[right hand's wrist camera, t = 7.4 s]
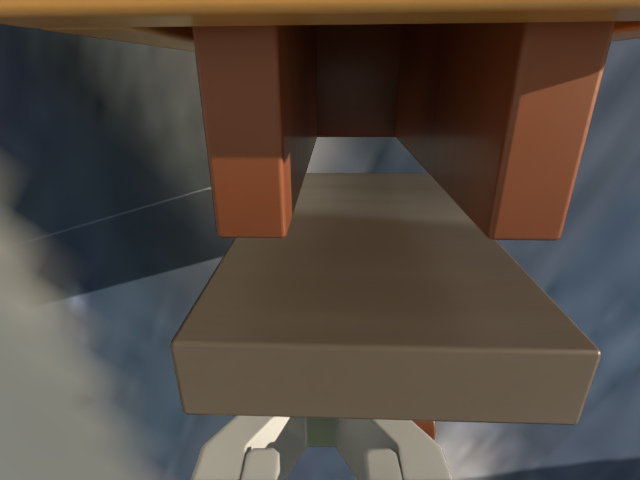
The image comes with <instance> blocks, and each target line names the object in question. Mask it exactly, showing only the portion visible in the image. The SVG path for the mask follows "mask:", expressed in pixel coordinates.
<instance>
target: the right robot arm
mask: <svg viewBox="0 0 640 480" xmlns="http://www.w3.org/2000/svg"><path fill="white" fill-rule="evenodd" d="M305 447H337V450H338V451H339V453H340V454H341V456H342V457H343V459H344V460H345V462H346V463H347V465H348V466H349V468H350V469H351V470H352V472H353V473H354V475H355V476H356V478H357V479H358V480H452V477H451V474H450V471H449V468H448V465H447V462H446V459H445V456H444V454H443V451H442V448H441V446H440V445H439V444H437V443H436V442H435V441H434V440H433V439H432V438H431V437H430V436H428V435H427V434H426V433H425V432H424V431H423V430H422V429H421V428H419V427H418V426H417V425H416V424H415V423H414V422H413V421H412V420H379V419H343V418H306V417H270V416H235V417H234V418H233V419H232V420H231V421H230V422H229V423H227V424H226V425H225V426H224V427H223V428H222V429H221V430H220V431H219V432H217V433H216V434H215V435H214V436H213V437H212V438H211V439H210V440H208V441H207V442H206V443H205V444H204V445H203V446H202V448H201V451H200V454H199V457H198V460H197V463H196V465H195V468H194V471H193V474H192V477H191V480H285V479H286V477H287V476H288V474H289V473H290V471H291V470H292V468H293V467H294V465H295V464H296V462H297V461H298V459H299V458H300V456H301V455H302V453H303V452H304V450H305Z"/></svg>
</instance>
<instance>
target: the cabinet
mask: <svg viewBox="0 0 640 480" xmlns="http://www.w3.org/2000/svg"><path fill="white" fill-rule="evenodd" d="M598 21H616V23H615V27H614V31H613V35H612V39H611V42H612V41H621V40H629V39H638V38H640V0H0V24H5V25H12V26H19V27H25V28H40V29H43V30H47V31H54V32H61V33H68V34H75V35H82V36H89V37H96V38H102V39H109V40H116V41H123V42H130V43H137V44H144V45H151V46H158V47H165V48H172V49H179V50H186V51H193V52H195V46H194V37H193V29H192V26H269V25H351V24H434V23H516V22H598Z"/></svg>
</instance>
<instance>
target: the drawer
mask: <svg viewBox="0 0 640 480" xmlns="http://www.w3.org/2000/svg"><path fill="white" fill-rule="evenodd" d="M615 23H616V21H598V22H516V23H434V24H351V25H269V26H192V29H193V37H194V46H195V54H196V62H197V71H198V79H199V87H200V96H201V104H202V113H203V121H204V129H205V138H206V146H207V154H208V163H209V171H210V180H211V188H212V196H213V205H214V213H215V221H216V230H217V234H218V236H219V237H222V238H235V239H234V240H233V242H232V243H231V245H230V247H229V248H228V250H227V252H226V253H225V255H224V256H223V258H222V260H221V261H220V263H219V265H218V266H217V268H216V269H215V271H214V273H213V274H212V276H211V278H210V279H209V281H208V282H207V284H206V286H205V287H204V289H203V290H202V292H201V294H200V295H199V297H198V299H197V300H196V302H195V303H194V305H193V307H192V308H191V310H190V312H189V313H188V315H187V316H186V318H185V320H184V321H183V323H182V325H181V326H180V328H179V329H178V331H177V333H176V334H175V336H174V338H173V339H172V341H171V344H170V348H171V353H172V358H173V363H174V369H175V374H176V379H177V384H178V389H179V394H180V399H181V405H182V410H183V412H184V413H186V414H197V415H233V416H270V417H306V418H343V419H379V420H412V421H413V422H414V423H415V424H416V425H417V426H418V427H419V428H421V429H422V430H423V431H424V432H425V433H426V434H427V435H428V436H430V437H431V438H432V439H433V440H434V439H435V421H452V422H488V423H525V424H561V425H574V424H576V423H578V421H579V419H580V416H581V413H582V410H583V407H584V404H585V401H586V398H587V395H588V392H589V389H590V387H591V384H592V381H593V378H594V375H595V372H596V369H597V366H598V363H599V360H600V358H601V352H600V350H599V349H598V348H597V346H596V345H595V344H594V343H593V342H592V341H591V340H590V339H589V338H588V337H587V336H586V335H585V334H584V333H583V332H582V331H581V330H580V329H579V327H578V326H577V325H576V324H575V323H574V322H573V321H572V320H571V319H570V318H569V317H568V316H567V315H566V314H565V313H564V312H563V311H562V309H561V308H560V307H559V306H558V305H557V304H556V303H555V302H554V301H553V300H552V299H551V298H550V297H549V296H548V295H547V294H546V293H545V292H544V290H543V289H542V288H541V287H540V286H539V285H538V284H537V283H536V282H535V281H534V280H533V279H532V278H531V277H530V276H529V275H528V274H527V273H526V271H525V270H524V269H523V268H522V267H521V266H520V265H519V264H518V263H517V262H516V261H515V260H514V259H513V258H512V257H511V256H510V255H509V254H508V252H507V251H506V250H505V249H504V248H503V247H502V246H501V245H500V244H499V243H498V242H497V241H496V240H558V239H559V238H560V237H561V234H562V230H563V226H564V223H565V219H566V215H567V211H568V207H569V203H570V199H571V195H572V191H573V187H574V183H575V180H576V176H577V172H578V168H579V164H580V160H581V156H582V152H583V148H584V144H585V140H586V136H587V133H588V129H589V125H590V121H591V117H592V113H593V109H594V105H595V101H596V97H597V93H598V90H599V86H600V82H601V78H602V74H603V70H604V66H605V62H606V58H607V54H608V50H609V47H610V43H611V39H612V35H613V31H614V27H615ZM317 137H396V138H397V139H398V140H399V141H400V142H401V143H402V144H403V145H404V147H405V148H406V149H407V150H408V151H409V152H410V153H411V154H412V155H413V156H414V158H415V159H416V160H417V161H418V162H419V163H420V164H421V165H422V166H423V167H424V169H425V170H426V171H427V172H428V173H429V174H387V173H306V171H307V167H308V164H309V161H310V158H311V155H312V151H313V148H314V145H315V142H316V138H317Z"/></svg>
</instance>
